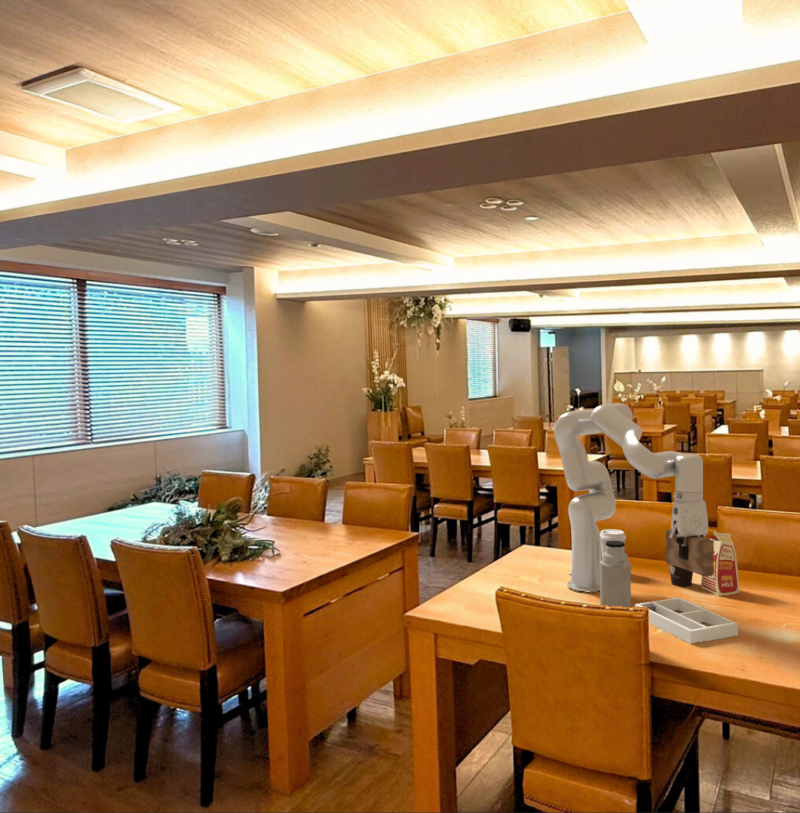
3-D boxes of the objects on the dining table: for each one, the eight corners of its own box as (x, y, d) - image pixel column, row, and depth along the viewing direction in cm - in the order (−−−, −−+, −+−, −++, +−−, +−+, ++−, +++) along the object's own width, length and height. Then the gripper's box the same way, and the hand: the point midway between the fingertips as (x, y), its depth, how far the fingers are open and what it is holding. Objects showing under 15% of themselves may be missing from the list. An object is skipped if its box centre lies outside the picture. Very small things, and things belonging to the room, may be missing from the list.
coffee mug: (697, 588, 245) (697, 558, 244) (670, 587, 246) (670, 558, 246) (690, 578, 256) (690, 549, 255) (664, 577, 258) (664, 549, 257)
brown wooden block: (665, 562, 224) (665, 530, 223) (674, 561, 225) (674, 528, 224) (704, 576, 209) (704, 541, 208) (713, 575, 210) (713, 540, 209)
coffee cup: (596, 569, 270) (595, 528, 269) (622, 568, 269) (622, 528, 268) (602, 576, 260) (602, 535, 259) (629, 576, 260) (629, 534, 259)
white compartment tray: (635, 615, 220) (634, 604, 220) (678, 608, 226) (678, 597, 225) (690, 644, 198) (690, 631, 198) (738, 635, 203) (738, 623, 203)
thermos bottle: (596, 638, 203) (595, 538, 202) (625, 637, 204) (624, 537, 202) (605, 649, 195) (604, 546, 194) (635, 648, 196) (634, 545, 194)
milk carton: (718, 596, 236) (718, 534, 235) (699, 587, 245) (699, 528, 244) (742, 593, 238) (742, 532, 237) (722, 585, 247) (722, 526, 246)
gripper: (675, 501, 209) (675, 564, 210) (720, 496, 215) (720, 557, 216) (657, 496, 216) (657, 558, 217) (701, 492, 222) (701, 551, 223)
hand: (688, 557), depth 217 cm, fingers closed on brown wooden block, 3 cm apart
